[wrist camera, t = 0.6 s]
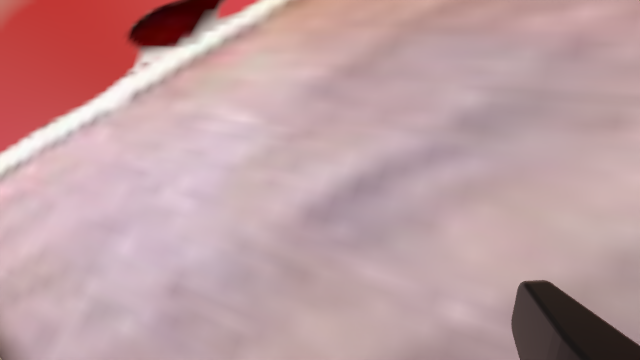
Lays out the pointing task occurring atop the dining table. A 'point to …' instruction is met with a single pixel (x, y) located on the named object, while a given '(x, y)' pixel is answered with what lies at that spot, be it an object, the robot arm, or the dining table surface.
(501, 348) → the dining table surface
